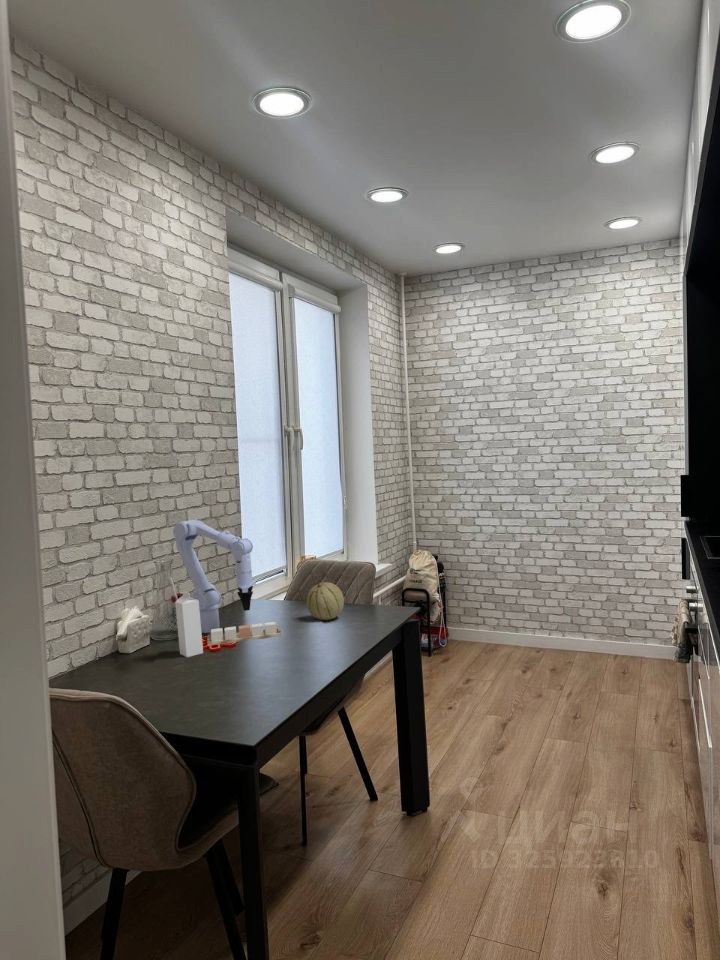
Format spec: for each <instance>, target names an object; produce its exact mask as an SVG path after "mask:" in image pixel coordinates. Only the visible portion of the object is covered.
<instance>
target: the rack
mask: <svg viewBox="0 0 720 960" xmlns="http://www.w3.org/2000/svg"><path fill="white" fill-rule="evenodd" d="M280 626H281V625H279V626H278V625H276V629H277V633H276V634H268V635H266V634H265V629H263V635H260V636H252V630H250V633H251V637H244V638H240V637H239V632H236V634H237V638H236V639H228V640H225V633H223V640H220V641H212V640H211V634H207V639H206V641H207V642H206V643H207V646H214V645H215V646H216V645H223V644H229V643H230V644H231V643H232V644H233V643H238V642H239V643H240V642H247V641H255V640H261V639H262V640H263V639H264V640H265V639H271V638H278V637H282V632H281V631H282V630H281V627H280Z"/></svg>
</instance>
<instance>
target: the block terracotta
mask: <svg viewBox="0 0 720 960" xmlns="http://www.w3.org/2000/svg"><path fill="white" fill-rule="evenodd" d="M250 631H251V624H245V625H239V626H238V633H239V637H240V638H244V637H251V633H250Z"/></svg>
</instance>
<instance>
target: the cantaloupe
mask: <svg viewBox="0 0 720 960" xmlns="http://www.w3.org/2000/svg"><path fill="white" fill-rule="evenodd" d="M344 598H345V597H344V595H343V592H342V590H341V589H340V588H339V587H338V586H337V585H336V584H334V583H332V582H328V581H327V582H326V581H325V582H324V581H323V582H319V583H318V584H316V585H314V586H313V587H311V588H310V590H309V591H308V592H307V596H306V608H307V610H308V612H309V613H310V615H311V616H312V617H313V618H315V619H317V620H319V621H330V620H333V619H335V618H336V617H337V616H339V615H340V614H341V612H342V611H343V608H344V605H345V599H344Z"/></svg>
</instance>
